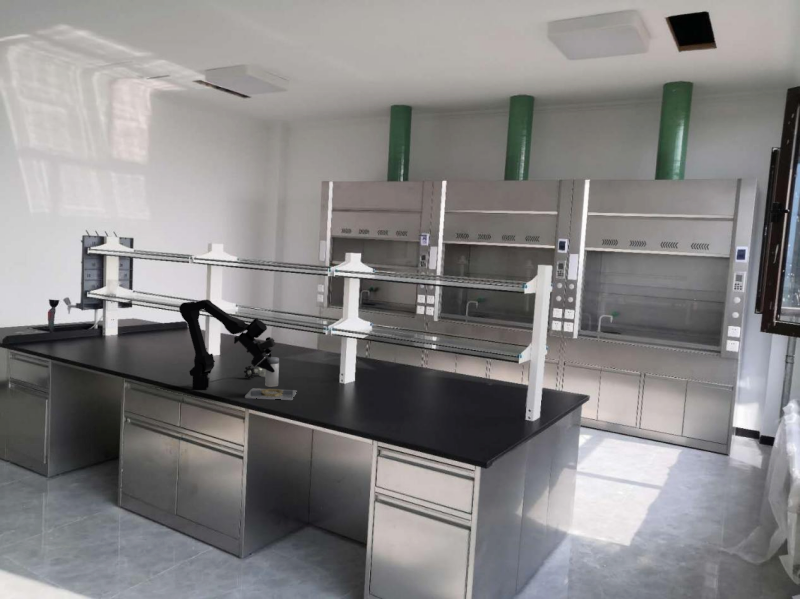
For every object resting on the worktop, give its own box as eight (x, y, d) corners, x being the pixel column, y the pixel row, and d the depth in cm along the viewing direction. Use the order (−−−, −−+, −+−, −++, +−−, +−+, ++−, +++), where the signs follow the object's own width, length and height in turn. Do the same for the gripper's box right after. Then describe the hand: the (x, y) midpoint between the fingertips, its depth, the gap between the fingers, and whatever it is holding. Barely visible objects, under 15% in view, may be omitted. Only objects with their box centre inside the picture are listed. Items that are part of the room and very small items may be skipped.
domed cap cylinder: (263, 386, 271) (264, 359, 270) (266, 383, 277) (267, 356, 276) (276, 387, 271) (277, 359, 270) (279, 384, 277) (280, 357, 276)
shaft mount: (244, 398, 267) (245, 392, 267) (252, 390, 281) (252, 385, 281) (292, 400, 268) (292, 394, 267) (296, 392, 282) (296, 386, 281)
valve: (260, 374, 315) (243, 378, 305) (261, 361, 315) (243, 365, 304) (270, 376, 312) (253, 380, 302) (271, 363, 311) (254, 366, 301)
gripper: (259, 335, 263) (285, 362, 264) (268, 328, 281) (292, 354, 282) (240, 352, 263) (265, 379, 264) (250, 345, 282) (273, 370, 283)
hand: (275, 370), depth 273 cm, fingers closed on domed cap cylinder, 6 cm apart
